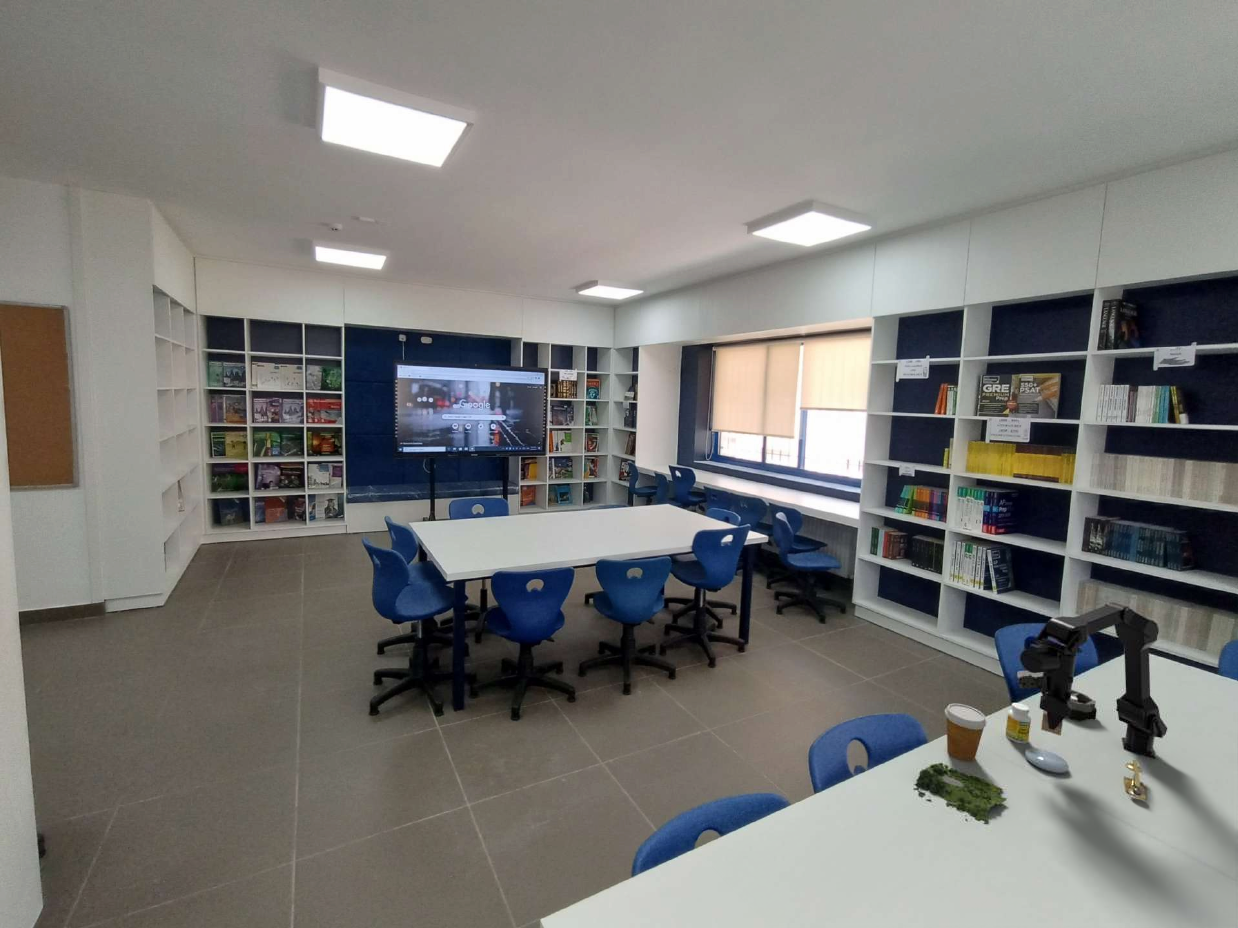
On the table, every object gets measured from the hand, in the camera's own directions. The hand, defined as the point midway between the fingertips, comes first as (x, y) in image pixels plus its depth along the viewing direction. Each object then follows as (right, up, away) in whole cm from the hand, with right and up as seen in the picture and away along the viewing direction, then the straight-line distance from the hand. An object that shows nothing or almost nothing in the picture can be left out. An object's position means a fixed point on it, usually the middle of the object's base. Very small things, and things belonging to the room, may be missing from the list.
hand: (1051, 725), depth 147 cm
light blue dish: (-1, -11, +1) cm, 11 cm away
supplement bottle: (0, -10, +12) cm, 16 cm away
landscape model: (-31, -12, -12) cm, 35 cm away
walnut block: (0, -1, 0) cm, 1 cm away
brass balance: (+15, -12, -7) cm, 21 cm away
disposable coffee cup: (-22, -10, +4) cm, 24 cm away
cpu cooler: (+28, -9, +28) cm, 41 cm away
